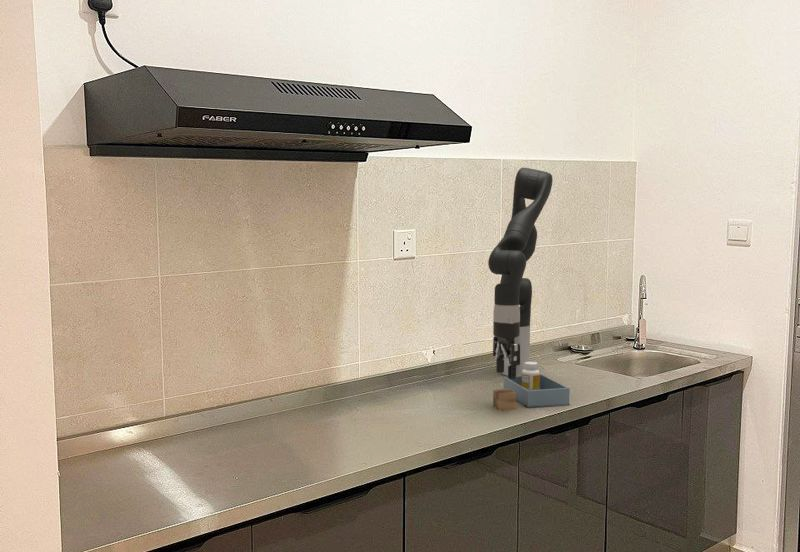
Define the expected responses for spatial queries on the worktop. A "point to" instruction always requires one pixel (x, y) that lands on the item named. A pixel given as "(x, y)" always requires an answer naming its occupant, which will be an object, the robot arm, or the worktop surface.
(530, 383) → the supplement bottle
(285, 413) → the worktop surface
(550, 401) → the tote
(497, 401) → the cube
